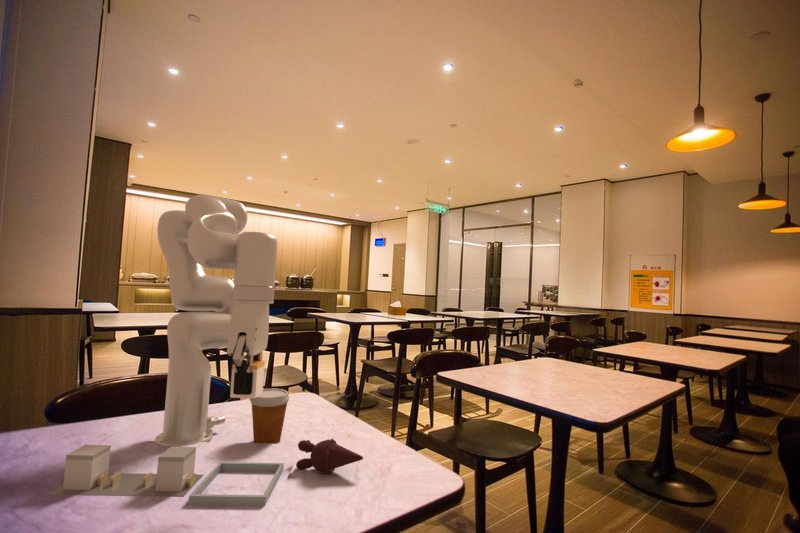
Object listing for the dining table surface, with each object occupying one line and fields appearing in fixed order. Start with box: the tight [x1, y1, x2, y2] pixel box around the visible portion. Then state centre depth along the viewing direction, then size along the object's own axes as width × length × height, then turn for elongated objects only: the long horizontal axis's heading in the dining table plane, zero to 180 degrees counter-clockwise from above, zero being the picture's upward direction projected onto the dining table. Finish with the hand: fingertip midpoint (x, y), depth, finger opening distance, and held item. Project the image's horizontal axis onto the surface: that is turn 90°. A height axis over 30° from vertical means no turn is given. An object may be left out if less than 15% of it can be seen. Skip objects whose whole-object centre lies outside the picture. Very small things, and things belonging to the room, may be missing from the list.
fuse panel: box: [47, 471, 204, 498], centre depth 71 cm, size 8×23×3 cm, turn 94°
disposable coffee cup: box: [249, 388, 291, 445], centre depth 96 cm, size 10×10×12 cm
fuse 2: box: [155, 446, 197, 491], centre depth 72 cm, size 5×5×6 cm
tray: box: [187, 461, 285, 507], centre depth 72 cm, size 13×13×2 cm
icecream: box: [295, 438, 364, 475], centre depth 82 cm, size 7×7×15 cm
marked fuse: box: [229, 360, 266, 399], centre depth 73 cm, size 5×5×6 cm
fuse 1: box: [62, 444, 112, 490], centre depth 71 cm, size 5×5×6 cm
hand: (247, 389), depth 73 cm, fingers closed on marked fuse, 4 cm apart
